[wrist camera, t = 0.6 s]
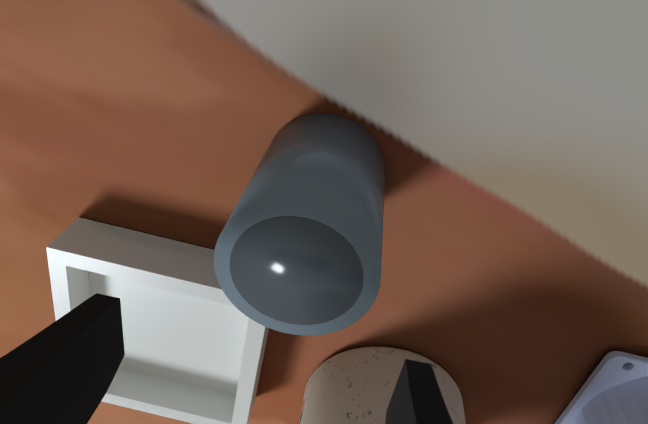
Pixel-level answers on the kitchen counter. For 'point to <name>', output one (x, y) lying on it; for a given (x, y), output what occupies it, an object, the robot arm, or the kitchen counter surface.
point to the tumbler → (307, 229)
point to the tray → (163, 322)
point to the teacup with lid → (366, 387)
